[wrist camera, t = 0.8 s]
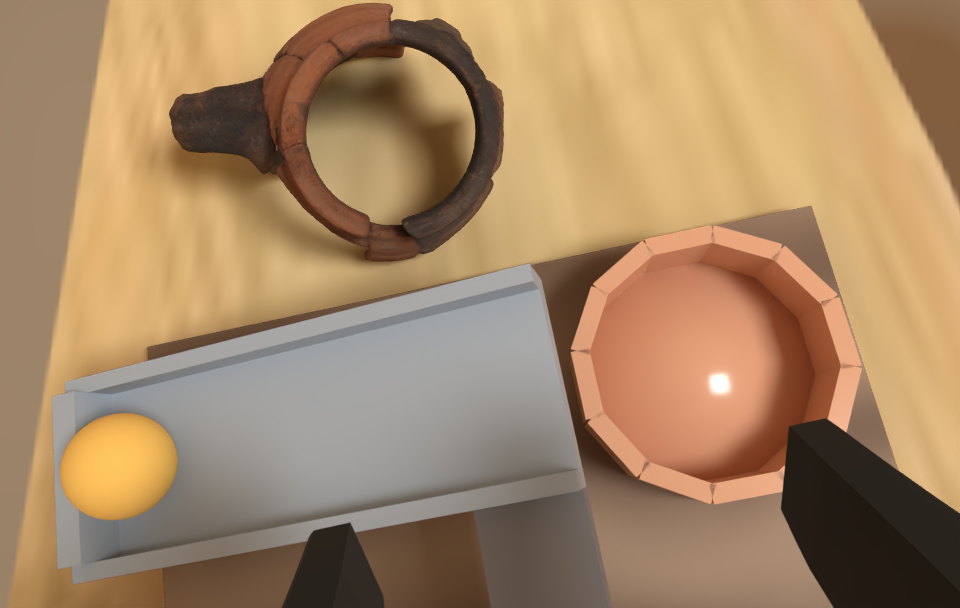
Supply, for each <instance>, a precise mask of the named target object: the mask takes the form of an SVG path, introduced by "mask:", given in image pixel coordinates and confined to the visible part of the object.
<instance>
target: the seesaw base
mask: <svg viewBox="0 0 960 608" xmlns="http://www.w3.org/2000/svg"><path fill="white" fill-rule="evenodd" d="M718 226H719V227H723V228H726V229H730V230H734V231H737V232H741V233H744V234H748V235H752V236H755V237H759V238H762V239H766V240H770V241H773V242H777V243H780V244H782V246H781V249H782V248H783V247H784V246H786V247H787V248H788V249H789V250H790V251H791V252H792V253H794V254H795V255H796V256H797V257H798V258H799V259H800V260H801V261H802V262H803V263H804V264H805V265H807V266H808V267H809V268H810V269H811V270H812V271H813V272H814V273H815V274H816V275H817V276H818V277H819V278H821V279H822V280H823V281H824V282H825V283H826V284H827V285H828V286H829V287H830V288H831V289H832V290H833V291H835V292H836V293H837V294H838V295H837V296H836V297H834V298H838V297H840V300H841V303H842V306H843V309H844V312H845V315H846V318H847V321H848V325H849V328H850V331H851V334H852V337H853V340H854V343H855V346H856V349H857V352H858V355H859V358H860V361H861V364H862V365H861V366H858V367H859V368H862V371H861V375H860V379H859V383H858V387H857V391H856V395H855V399H854V404H853V408H852V412H851V416H850V420H849V424H848V428H847V432H846V433H848V434H849V435H851V436H852V437H853V438H855V439H856V440H857V441H859V442H860V443H861V444H863V445H864V446H865V447H867V448H868V449H870V450H871V451H872V452H874V453H875V454H876V455H878V456H879V457H880V458H882V459H883V460H885V461H886V462H887V463H889V464H890V465H891V466H893V467H894V468H896V469H897V470H898V468H897V465H896V462H895V459H894V456H893V453H892V450H891V446H890V443H889V440H888V437H887V434H886V431H885V428H884V425H883V422H882V419H881V416H880V413H879V410H878V407H877V404H876V401H875V398H874V395H873V392H872V389H871V386H870V383H869V380H868V377H867V374H866V370H865V367H864V364H863V361H862V358H861V355H860V352H859V349H858V346H857V343H856V340H855V337H854V334H853V331H852V328H851V325H850V322H849V319H848V316H847V313H846V310H845V307H844V304H843V301H842V298H841V294H840V291H839V288H838V285H837V282H836V279H835V276H834V273H833V270H832V267H831V264H830V261H829V258H828V255H827V252H826V249H825V246H824V243H823V240H822V237H821V234H820V231H819V228H818V225H817V222H816V218H815V215H814V212H813V209H812V206H807V207H802V208H798V209H793V210H788V211H783V212H779V213H774V214H769V215H765V216H760V217H755V218H751V219H746V220H741V221H737V222H732V223H727V224H723V225H718ZM712 228H713V227H712ZM643 242H644V241H643ZM639 243H640V242H638V243H633V244H629V245H624V246H619V247H615V248H610V249H605V250H601V251H596V252H591V253H587V254H582V255H577V256H572V257H568V258H563V259H558V260H554V261H549V262H544V263H540V264H535V265H531V266H532V268H533V269H534V270H535V272H536V273H537V275H538V276H539V278H540V279H541V281H542V285H543V290H544V294H545V299H546V303H547V308H548V313H549V317H550V322H551V326H552V331H553V336H554V340H555V345H556V349H557V354H558V358H559V363H560V368H561V372H562V377H563V381H564V386H565V390H566V395H567V400H568V404H569V409H570V413H571V418H572V423H573V427H574V432H575V436H576V441H577V445H578V450H579V455H580V459H581V464H582V468H583V473H584V477H585V482H586V487H587V491H588V496H589V500H590V505H591V509H592V514H593V519H594V523H595V528H596V532H597V537H598V542H599V546H600V551H601V555H602V560H603V564H604V569H605V574H606V578H607V583H608V587H609V592H610V596H611V601H612V606H613V608H833V606H832V604H831V603H830V601H829V600H828V598H827V596H826V595H825V593H824V592H823V590H822V588H821V587H820V585H819V584H818V582H817V580H816V579H815V577H814V575H813V574H812V572H811V571H810V569H809V567H808V565H807V563H806V561H805V559H804V557H803V555H802V553H801V551H800V549H799V547H798V545H797V543H796V541H795V539H794V536H793V534H792V532H791V530H790V528H789V526H788V524H787V521H786V519H785V517H784V515H783V513H782V511H781V501H782V492H779V493H773V494H768V495H763V496H757V497H752V498H747V499H741V500H736V501H731V502H725V503H720V504H715V505H714V504H708V503H704V502H700V501H697V500H693V499H690V498H688V497H685V496H682V495H679V494H676V493H673V492H670V491H668V490H665V489H662V488H659V487H656V486H653V485H650V484H648V483H645V482H642V481H639V480H636V479H633V478H631V476H628V475H627V474H626V473H625V472H624V471H623V469H622V468H621V467H620V466H619V465H618V464H617V463H616V462H615V461H614V459H613V458H612V457H611V456H610V455H609V454H608V453H607V452H606V450H605V449H604V448H603V447H602V446H601V445H600V444H599V443H598V442H597V440H596V439H595V438H594V437H593V436H592V435H591V434H590V433H589V431H588V430H587V429H586V428H585V425H586V424H583V422H582V417H581V413H580V408H579V404H578V399H577V395H576V390H575V386H574V381H573V377H572V372H571V368H570V353H571V347H572V344H573V341H574V338H575V335H576V332H577V329H578V326H579V323H580V319H581V316H582V313H583V310H584V307H585V304H586V301H587V298H588V295H589V292H590V289H591V286H593V283H594V282H596V281H597V280H598V279H599V278H600V277H601V276H602V275H603V274H605V273H606V272H607V271H608V270H609V269H610V268H611V267H613V266H614V265H615V264H616V263H617V262H618V261H619V260H621V259H622V258H623V257H624V256H625V255H626V254H627V253H629V252H630V251H631V250H632V249H633V248H634V247H635V246H637V245H638V244H639ZM469 279H470V278H469ZM465 280H466V279H465ZM460 281H462V280H460ZM455 282H458V281H455ZM451 283H454V282H451ZM446 284H450V283H446ZM446 284H441V285H437V286H432V287H427V288H422V289H418V290H413V291H408V292H404V293H399V294H394V295H390V296H385V297H380V298H376V299H371V300H366V301H361V302H357V303H352V304H347V305H343V306H338V307H333V308H329V309H324V310H319V311H315V312H310V313H305V314H301V315H296V316H291V317H286V318H282V319H277V320H272V321H268V322H263V323H258V324H254V325H249V326H244V327H240V328H235V329H230V330H226V331H221V332H216V333H211V334H207V335H202V336H197V337H193V338H188V339H183V340H179V341H174V342H169V343H165V344H160V345H155V346H150V347H148V361H149V360H153V359H157V358H161V357H165V356H169V355H172V354H176V353H180V352H184V351H188V350H192V349H196V348H200V347H204V346H208V345H212V344H216V343H219V342H223V341H227V340H231V339H235V338H239V337H243V336H247V335H251V334H255V333H259V332H262V331H266V330H270V329H274V328H278V327H282V326H286V325H290V324H294V323H298V322H302V321H306V320H309V319H313V318H317V317H321V316H325V315H329V314H333V313H337V312H341V311H345V310H349V309H352V308H356V307H360V306H364V305H368V304H372V303H376V302H380V301H384V300H388V299H392V298H395V297H399V296H403V295H407V294H411V293H415V292H419V291H423V290H427V289H431V288H435V287H439V286H442V285H446ZM355 534H356V536H357V538H358V540H359V542H360V545H361V547H362V549H363V551H364V554H365V556H366V558H367V560H368V563H369V565H370V567H371V569H372V571H373V574H374V576H375V578H376V580H377V583H378V585H379V587H380V589H381V591H382V594H383V596H384V608H491V605H490V599H489V594H488V588H487V582H486V577H485V571H484V565H483V560H482V554H481V549H480V543H479V537H478V532H477V526H476V520H475V515H474V510H473V511H468V512H462V513H457V514H452V515H446V516H441V517H435V518H430V519H424V520H419V521H414V522H408V523H403V524H397V525H392V526H386V527H381V528H376V529H370V530H365V531H359V532H355ZM306 543H307V541H305V542H300V543H294V544H289V545H283V546H278V547H273V548H267V549H262V550H256V551H251V552H246V553H240V554H235V555H229V556H224V557H218V558H213V559H208V560H202V561H197V562H191V563H186V564H181V565H175V566H170V567H164V568H163V580H164V594H165V608H282V605H283V603H284V600H285V598H286V595H287V593H288V590H289V588H290V585H291V583H292V580H293V578H294V575H295V573H296V570H297V567H298V565H299V562H300V559H301V557H302V554H303V551H304V549H305V546H306Z"/></svg>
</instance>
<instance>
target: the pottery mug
mask: <svg viewBox="0 0 960 608" xmlns="http://www.w3.org/2000/svg"><path fill="white" fill-rule="evenodd" d="M392 11H393V7H392V6H391V5H390V4H382V3H363V4H355V5H350V6H345V7H341V8H339V9H336V10H334V11H332V12H329V13H327V14H325V15H323V16H321V17H319V18H318V19H316V20H314V21H312V22H311V23H309V24H308V25H307V26H305V27H304V28H302V29H301V30H300V31H299V32H298V33H297V34H295V35H294V36H293V37H292V38H291V39H290V40H288V42H287V43H286V44H285V45H284V46H283V47H282V49H281V50H280V51H279V52H278V54H277V55H276V56H275V58H274V63H273V64H272V65H271V66H270V68H269V69H268V71H267V72H266V73H265V74H264V76H263V77H262V78H258V79H255V80H253V81H249V82H245V83H240V84H234V85H229V86H221V87H215V88H212V89H210V90H207V91H204V92H201V93H194V94H182V95H181V96H179V97H177V98H176V100H175V102H174V104H173V106H172V108H171V109H170V112H169V115H170V119H171V125H172V132H173V135H174V137H175V139H176V140H177V141H178V142H179V144H180V145H181V147H182V148H183V149H184V150H186V151H190V152H198V153H207V152H215V153H227V154H235V155H240V156H243V157H245V158H247V159H249V160H250V161H251V162H252V163H253V164H254V165H255V166H256V167H257V169H258V170H259V171H260V172H261V173H262V174H265V173H267V172H269V171H270V172H271V173H272V174H276V173H277V174H278V176H279V178H280V179H281V181H282V182H283V183H284V185H285V186H286V188H287V189H288V190H289V191H290V193H291V194H292V195H293V196H294V197H295V198H296V199H297V201H298V202H299V203H300V205H301V206H302V207H303V208H304V209H305V210H306V211H307V212H308V213H309V214H311V215H312V216H313V217H314V218H315V219H316V220H318V221H319V222H320V223H322V224H323V225H324V226H325V227H326V228H328V229H329V230H330V231H331V232H332V233H334V234H336V235H337V236H339V237H341V238H343V239H345V240H347V241H349V242H352V243H354V244H357V245H360V246H364V247H368V249H367V250H366V251H365V252H364V257H365V259H367V260H372V261H396V260H403V259H409V258H414V257H415V256H416V254H418V253H422V254H426V253H429V252H432V251H434V250H435V249H436V248H438V247H439V246H440V245H442V244H443V243H445V242H446V241H447V240H449V239H450V238H451V237H452V236H453V235H454V234H456V233H457V232H458V231H459V230H461V229H462V227H463V226H465V225H466V224H467V223H468V222H469V221H470V220H471V218H472V217H473V216H474V215H475V214H476V213H477V211H478V210H479V209H480V207H481V206H482V204H483V203H484V201H485V200H486V198H487V196H488V195H489V193H490V192H491V190H492V188H493V181H492V179H491V178H492V176H493V174H494V173H495V172H496V171H497V170H498V168H499V166H500V164H501V160H502V153H503V137H504V131H503V121H504V120H503V118H504V111H503V106H504V102H503V96H502V91H501V90H500V89H498V88H497V86H496V85H495V84H493V83H492V82H490V81H488V80H486V77H485V75H484V73H483V71H482V70H481V69H480V67H479V66H478V64H477V63H476V62H475V61H474V57H473V55H472V51H471V49H470V47H469V46H468V45H467V43H466V42H464V41H463V40H462V38H461V34H460V32H459V31H458V30H457V29H456V28H454V27H453V26H451V25H450V24H448V23H446V22H445V21H443V20H441V19H439V18H436V19H433V20H419V21H416V22H413V21H407V20H400V19H396V20H393V21H391V17H390V16H391V14H392ZM405 47H410V48H414V49H417V50H420V51H422V52H424V53H427V54H429V55H430V56H432V57H433V58H435V59H437V60H438V61H439V62H441V63H442V64H443V65H445V66H446V67H447V68H448V69H449V70H450V71H451V72H452V73H453V74H454V75H455V76H456V77H457V79H458V80H459V81H460V83H461V84H462V85H463V87H464V88H465V90H466V93H467V95H468V98H469V100H470V103H471V106H472V110H473V114H474V120H475V143H474V150H473V154H472V158H471V161H470V163H469V166H468V168H467V171H466V173H465V174H464V176H463V177H462V179H461V180H460V182H459V184H458V185H457V186H456V187H455V188H454V190H453V191H452V192H451V193H450V194H449V195H448V196H447V197H446V198H445V199H444V200H443V201H441V202H440V203H439V204H437V205H435V206H434V207H432V208H430V209H428V210H426V211H424V212H422V213H420V214H417V215H413V216H410V217H407V218H405V219H403V220H402V225H380V224H376V223H371V222H370V219H369V217H368V216H367V215H366V214H364V213H361V212H359V211H357V210H355V209H353V208H351V207H349V206H348V205H346V204H345V203H343V202H342V201H340V200H339V199H338V198H337V197H335V196H334V195H333V194H332V192H331V191H330V190H329V189H328V188H327V187H326V186H325V184H324V183H323V181H322V180H321V178H320V177H319V175H318V173H317V172H316V169H315V167H314V165H313V163H312V160H311V156H310V152H309V149H308V147H307V141H306V125H307V118H308V112H309V107H310V104H311V101H312V98H313V96H314V94H315V92H316V90H317V88H318V87H319V85H320V84H321V82H322V81H323V79H324V78H325V77H326V75H327V74H328V73H329V72H330V71H331V70H332V69H333V68H335V67H336V66H338V65H340V64H341V63H343V62H345V61H348V60H350V59H352V58H357V57H363V56H376V55H383V56H392V57H402V56H403V53H404V48H405Z"/></svg>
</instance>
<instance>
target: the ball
mask: <svg viewBox="0 0 960 608" xmlns="http://www.w3.org/2000/svg"><path fill="white" fill-rule="evenodd" d="M177 466H178V456H177V450H176V447H175V444H174V442H173V439H172V438H171V436H170V435H169V433H168V432H167V431H166V430H165V429H164V428H163V427H162V426H161V425H160V424H159V423H157V422H156V421H154V420H152V419H150V418H148V417H145V416H142V415H138V414H133V413H118V414H112V415H108V416H104V417H101V418H99V419H96V420H94V421H93V422H91V423H89V424H88V425H86V426H85V427H83V428H82V429H81V430H80V431H79V432H78V433H77V434H76V435H75V436H74V437H73V438H72V439H71V441H70V442H69V444H68V445H67V447H66V449H65V451H64V454H63V456H62V459H61V463H60V481H61V485H62V488H63V491H64V493H65V495H66V497H67V498H68V500H69V501H70V502H71V503H72V504H73V505H74V506H75V507H76V508H77V509H78V510H80V511H81V512H83V513H85V514H86V515H89V516H91V517H94V518H97V519H102V520H123V519H128V518H132V517H135V516H137V515H140V514H142V513H144V512H146V511H147V510H149V509H151V508H152V507H153V506H155V505H156V504H157V503H158V502H159V501H160V500H161V499H162V498H163V497H164V496H165V495H166V493H167V492H168V490H169V489H170V487H171V486H172V484H173V481H174V479H175V476H176V472H177Z"/></svg>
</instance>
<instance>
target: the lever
mask: <svg viewBox="0 0 960 608" xmlns="http://www.w3.org/2000/svg"><path fill="white" fill-rule="evenodd" d="M118 413H133V414H138V415H142V416H145V417H148V418H150V419H152V420H154V421H156V422H157V423H159V424H160V425H161V426H162V427H163V428H164V429H165V430H166V431H167V432H168V433H169V435H170V436H171V438H172V439H173V442H174V444H175V447H176V450H177V456H178V466H177V472H176V476H175V479H174V481H173V484H172V486H171V487H170V489H169V490H168V492H167V493H166V495H165V496H164V497H163V498H162V499H161V500H160V501H159V502H158V503H157V504H156V505H155V506H153V507H152V508H151V509H149V510H147V511H146V512H144V513H142V514H140V515H137V516H135V517H132V518H128V519H123V520H102V519H97V518H94V517H91V516H89V515H86V514H85V513H83V512H81V511H80V510H78V509H77V508H76V507H75V506H74V505H73V504H72V503H71V502H70V501H69V500H68V498H67V497H66V495H65V493H64V491H63V488H62V485H61V481H60V463H61V459H62V456H63V454H64V451H65V449H66V447H67V445H68V444H69V442H70V441H71V439H72V438H73V437H74V436H75V435H76V434H77V433H78V432H79V431H80V430H81V429H82V428H83V427H85V426H86V425H88V424H89V423H91V422H93V421H94V420H96V419H99V418H101V417H104V416H108V415H112V414H118ZM52 418H53V448H54V478H55V508H56V539H57V569H62V568H67V567H72V584H78V583H83V582H88V581H94V580H99V579H105V578H110V577H115V576H121V575H126V574H132V573H137V572H143V571H148V570H153V569H159V568H164V567H170V566H175V565H181V564H186V563H191V562H197V561H202V560H208V559H213V558H218V557H224V556H229V555H235V554H240V553H246V552H251V551H256V550H262V549H267V548H273V547H278V546H283V545H289V544H294V543H300V542H305V541H307V540H308V538H309V536H310V534H311V533H312V532H313V531H314V530H318V529H322V528H327V527H331V526H336V525H340V524H345V523H350V522H351V525H352V527H353V529H354V531H355V532H359V531H365V530H370V529H376V528H381V527H386V526H392V525H397V524H403V523H408V522H414V521H419V520H424V519H430V518H435V517H441V516H446V515H452V514H457V513H462V512H468V511H473V510H474V515H475V520H476V526H477V532H478V537H479V543H480V549H481V554H482V560H483V565H484V571H485V577H486V582H487V588H488V594H489V599H490V605H491V608H613V606H612V601H611V596H610V592H609V587H608V583H607V578H606V574H605V569H604V564H603V560H602V555H601V551H600V546H599V542H598V537H597V532H596V528H595V523H594V519H593V514H592V509H591V505H590V500H589V496H588V491H587V487H586V482H585V477H584V473H583V468H582V464H581V459H580V455H579V450H578V445H577V441H576V436H575V432H574V427H573V423H572V418H571V413H570V409H569V404H568V400H567V395H566V390H565V386H564V381H563V377H562V372H561V368H560V363H559V358H558V354H557V349H556V345H555V340H554V336H553V331H552V326H551V322H550V317H549V313H548V308H547V303H546V299H545V294H544V290H543V285H542V281H541V279H540V278H539V276H538V275H537V273H536V272H535V270H534V269H533V268H532V266H531V265H530V263H529V264H525V265H521V266H517V267H513V268H509V269H505V270H501V271H497V272H493V273H489V274H485V275H482V276H478V277H474V278H470V279H466V280H462V281H458V282H454V283H450V284H446V285H442V286H439V287H435V288H431V289H427V290H423V291H419V292H415V293H411V294H407V295H403V296H399V297H395V298H392V299H388V300H384V301H380V302H376V303H372V304H368V305H364V306H360V307H356V308H352V309H349V310H345V311H341V312H337V313H333V314H329V315H325V316H321V317H317V318H313V319H309V320H306V321H302V322H298V323H294V324H290V325H286V326H282V327H278V328H274V329H270V330H266V331H262V332H259V333H255V334H251V335H247V336H243V337H239V338H235V339H231V340H227V341H223V342H219V343H216V344H212V345H208V346H204V347H200V348H196V349H192V350H188V351H184V352H180V353H176V354H172V355H169V356H165V357H161V358H157V359H153V360H149V361H145V362H141V363H137V364H133V365H129V366H126V367H122V368H118V369H114V370H110V371H106V372H102V373H98V374H94V375H90V376H86V377H83V378H79V379H75V380H71V381H67V382H65V394H61V395H57V396H53V397H52Z"/></svg>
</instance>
